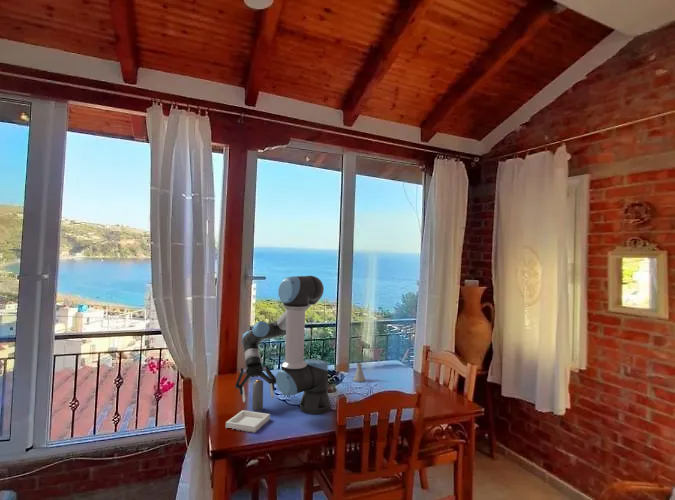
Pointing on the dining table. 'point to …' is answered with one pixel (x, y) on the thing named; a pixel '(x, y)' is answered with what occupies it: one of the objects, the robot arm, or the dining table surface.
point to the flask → (359, 374)
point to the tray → (248, 421)
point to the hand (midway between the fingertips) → (258, 399)
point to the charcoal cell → (257, 395)
